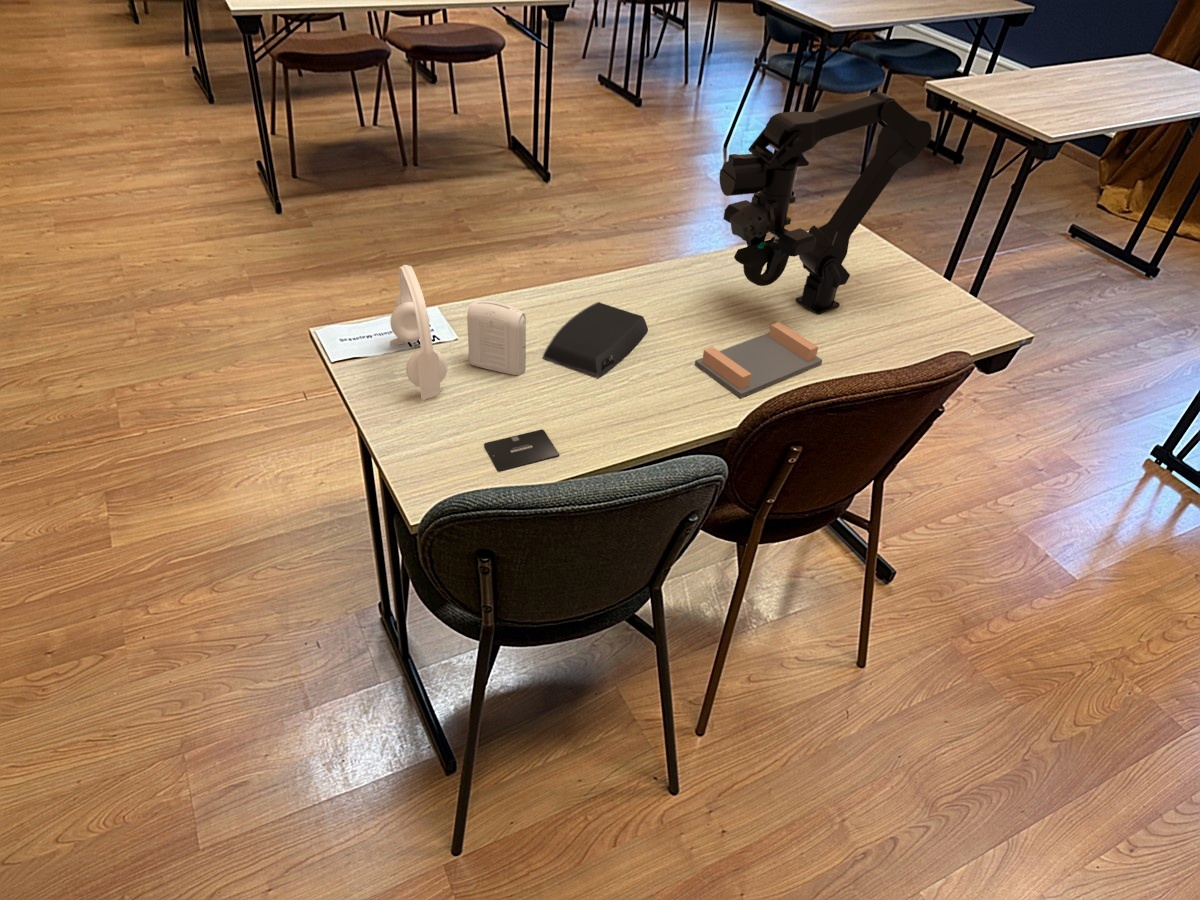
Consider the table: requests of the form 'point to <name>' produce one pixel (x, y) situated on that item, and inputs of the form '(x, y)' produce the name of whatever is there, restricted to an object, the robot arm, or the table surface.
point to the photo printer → (497, 337)
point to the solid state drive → (521, 450)
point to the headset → (417, 335)
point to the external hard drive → (596, 339)
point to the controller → (759, 263)
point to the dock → (760, 361)
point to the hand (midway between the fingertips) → (760, 269)
